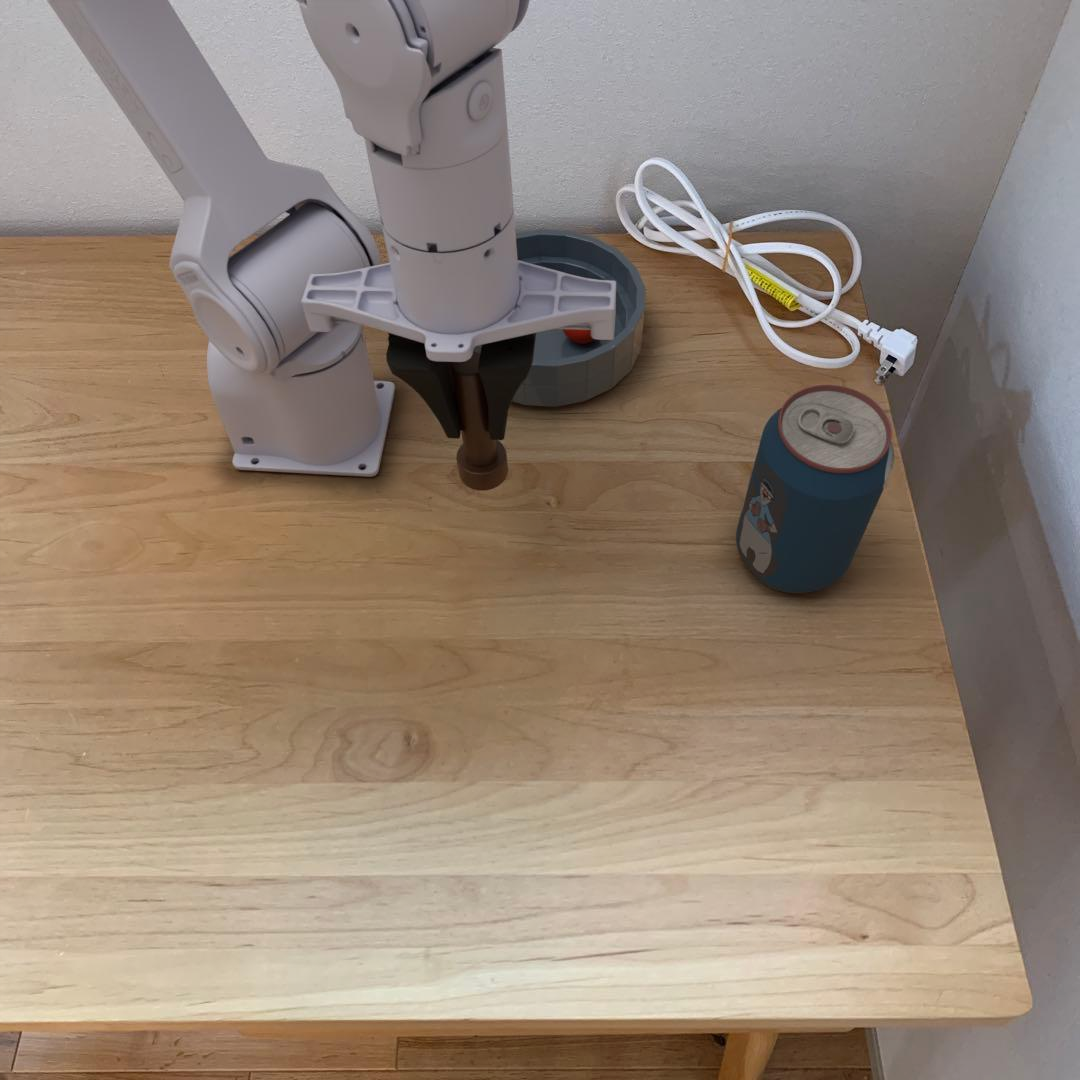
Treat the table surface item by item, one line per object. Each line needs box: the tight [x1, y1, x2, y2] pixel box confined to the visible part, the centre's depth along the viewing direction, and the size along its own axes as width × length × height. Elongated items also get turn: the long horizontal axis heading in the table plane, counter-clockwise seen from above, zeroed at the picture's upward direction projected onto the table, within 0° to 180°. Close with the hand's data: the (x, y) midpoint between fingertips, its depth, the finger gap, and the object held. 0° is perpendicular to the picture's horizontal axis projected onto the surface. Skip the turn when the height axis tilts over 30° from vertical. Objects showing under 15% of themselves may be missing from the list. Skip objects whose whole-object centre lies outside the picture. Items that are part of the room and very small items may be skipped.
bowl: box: [473, 228, 646, 407], centre depth 71 cm, size 13×13×4 cm
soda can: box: [735, 384, 895, 594], centre depth 57 cm, size 7×7×12 cm
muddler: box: [451, 351, 509, 492], centre depth 54 cm, size 3×3×8 cm
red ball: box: [563, 329, 596, 344], centre depth 71 cm, size 3×3×3 cm
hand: (477, 425), depth 55 cm, fingers closed on muddler, 2 cm apart
